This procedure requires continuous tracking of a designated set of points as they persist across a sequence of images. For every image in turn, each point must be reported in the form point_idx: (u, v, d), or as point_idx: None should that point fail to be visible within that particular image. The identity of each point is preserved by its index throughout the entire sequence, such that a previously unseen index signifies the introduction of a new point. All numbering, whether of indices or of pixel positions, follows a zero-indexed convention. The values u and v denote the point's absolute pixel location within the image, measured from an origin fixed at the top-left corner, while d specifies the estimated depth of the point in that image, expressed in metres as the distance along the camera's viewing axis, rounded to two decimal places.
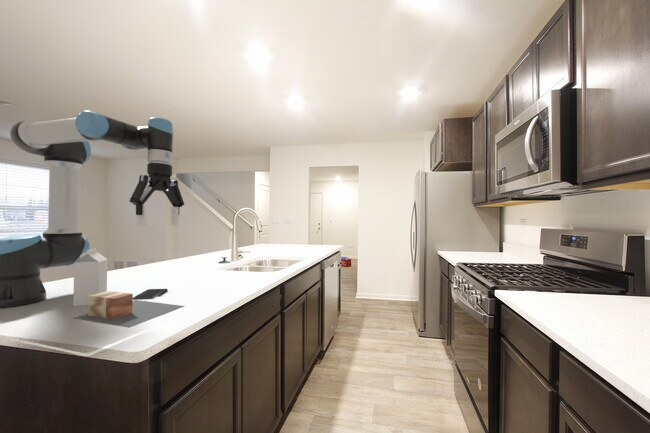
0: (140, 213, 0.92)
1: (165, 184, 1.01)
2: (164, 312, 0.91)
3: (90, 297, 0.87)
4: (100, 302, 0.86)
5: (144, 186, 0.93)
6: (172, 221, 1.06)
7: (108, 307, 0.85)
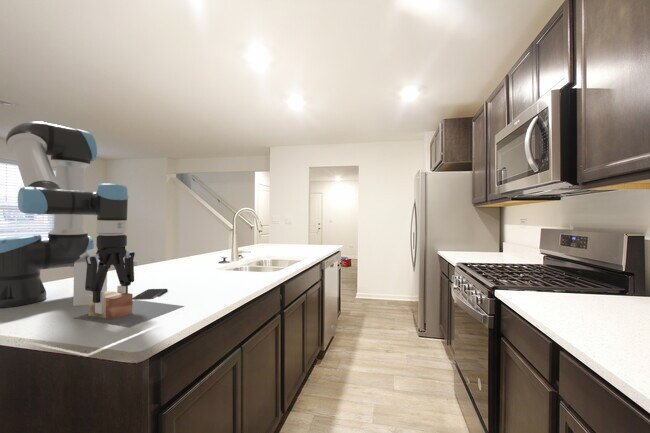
0: (97, 301, 0.84)
1: (117, 256, 0.89)
2: (164, 312, 0.91)
3: (90, 297, 0.87)
4: None
5: (95, 269, 0.83)
6: None
7: (108, 307, 0.85)
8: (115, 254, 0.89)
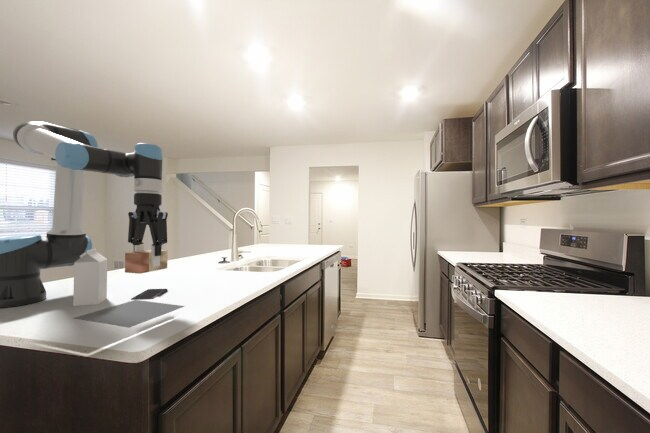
0: None
1: None
2: (164, 312, 0.91)
3: None
4: None
5: (130, 224, 0.92)
6: None
7: None
8: None
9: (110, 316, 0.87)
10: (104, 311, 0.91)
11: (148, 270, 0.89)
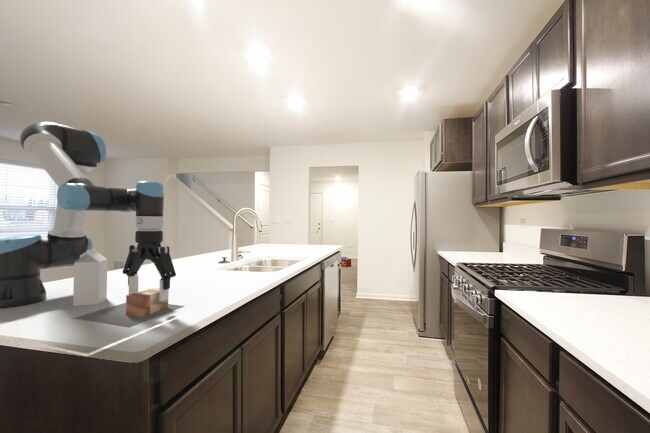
0: (129, 284, 0.93)
1: None
2: (164, 312, 0.91)
3: None
4: None
5: (129, 257, 0.93)
6: None
7: None
8: None
9: (110, 316, 0.87)
10: (104, 311, 0.91)
11: (149, 312, 0.89)
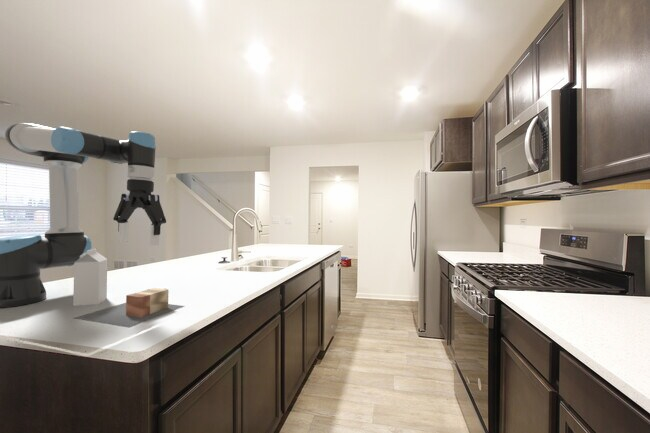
0: None
1: None
2: (164, 312, 0.91)
3: None
4: None
5: (120, 204, 0.97)
6: None
7: None
8: None
9: (110, 316, 0.87)
10: (104, 311, 0.91)
11: (149, 312, 0.89)
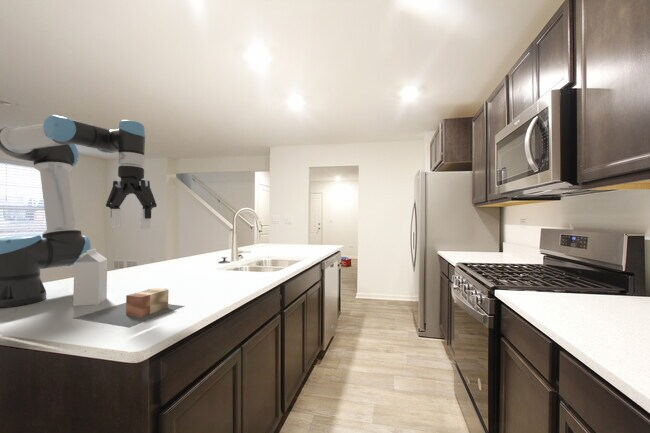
0: None
1: None
2: (164, 312, 0.91)
3: None
4: None
5: (112, 191, 1.01)
6: None
7: None
8: None
9: (110, 316, 0.87)
10: (104, 311, 0.91)
11: (149, 312, 0.89)
